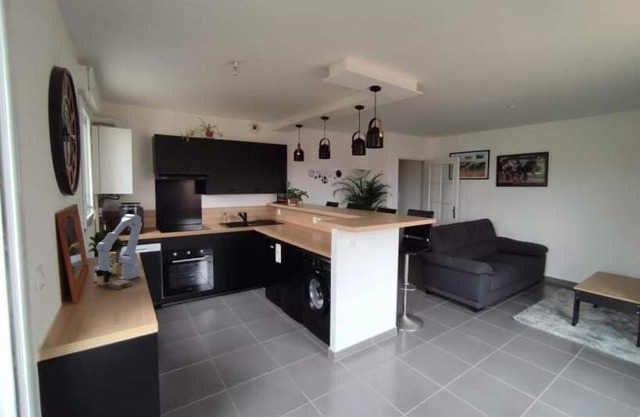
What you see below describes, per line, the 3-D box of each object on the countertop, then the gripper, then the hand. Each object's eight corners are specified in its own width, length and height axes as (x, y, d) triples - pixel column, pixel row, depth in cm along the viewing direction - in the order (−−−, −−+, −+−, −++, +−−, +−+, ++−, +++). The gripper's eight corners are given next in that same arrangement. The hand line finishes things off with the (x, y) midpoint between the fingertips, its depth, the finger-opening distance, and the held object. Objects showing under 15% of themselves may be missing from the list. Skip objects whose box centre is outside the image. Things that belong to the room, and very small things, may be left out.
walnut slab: (121, 284, 197) (121, 279, 197) (131, 286, 194) (131, 281, 194) (107, 287, 188) (107, 283, 188) (118, 290, 185) (118, 285, 185)
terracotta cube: (105, 282, 196) (105, 274, 196) (110, 283, 195) (110, 275, 195) (97, 284, 192) (97, 276, 192) (102, 285, 190) (102, 277, 190)
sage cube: (101, 279, 203) (101, 272, 203) (106, 280, 202) (106, 273, 201) (93, 281, 199) (93, 274, 198) (99, 282, 197) (99, 275, 197)
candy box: (115, 272, 220) (115, 251, 220) (116, 273, 217) (116, 252, 216) (100, 274, 215) (100, 252, 214) (101, 275, 212) (101, 254, 211)
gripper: (89, 260, 191) (89, 281, 192) (105, 263, 186) (105, 284, 187) (100, 258, 198) (100, 278, 199) (116, 261, 193) (116, 281, 194)
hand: (103, 281), depth 193 cm, fingers closed on terracotta cube, 5 cm apart
